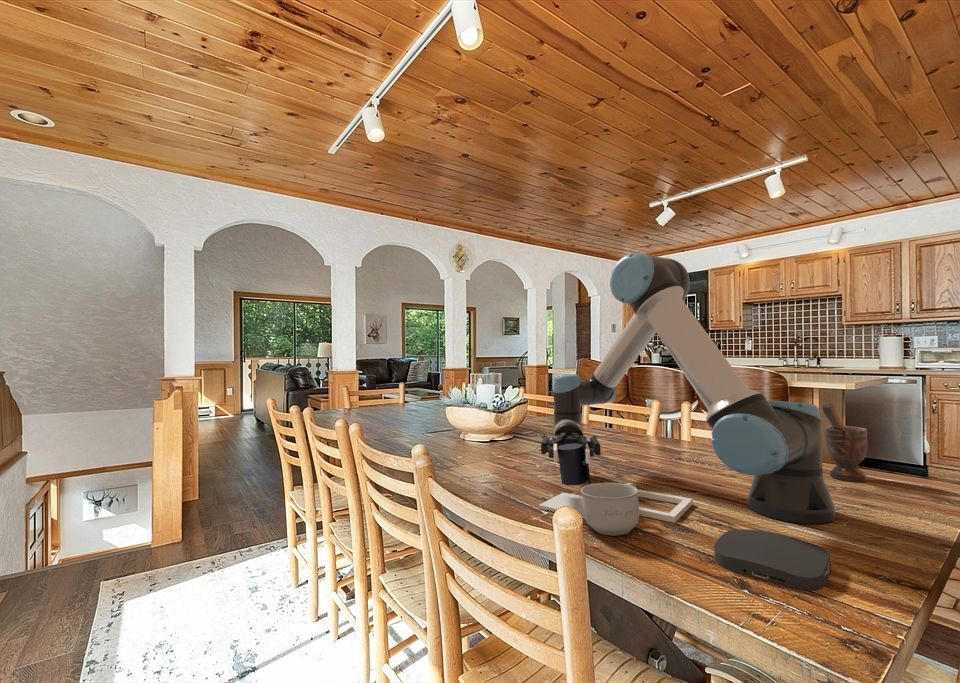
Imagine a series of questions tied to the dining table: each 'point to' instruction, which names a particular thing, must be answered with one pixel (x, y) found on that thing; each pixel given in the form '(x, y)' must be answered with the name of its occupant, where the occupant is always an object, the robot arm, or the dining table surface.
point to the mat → (564, 502)
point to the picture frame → (677, 511)
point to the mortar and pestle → (845, 446)
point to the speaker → (573, 464)
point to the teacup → (611, 507)
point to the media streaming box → (774, 558)
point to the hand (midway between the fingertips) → (571, 456)
